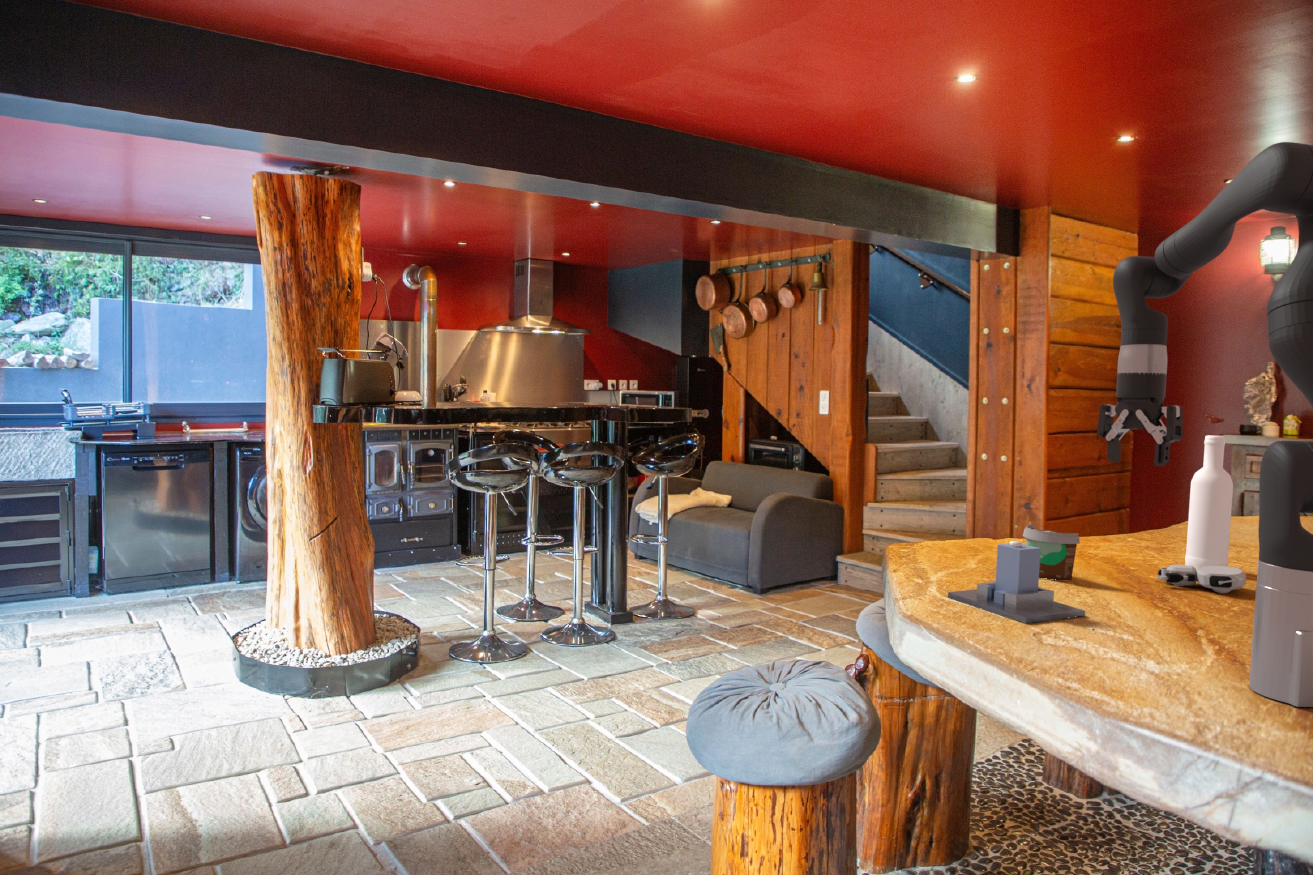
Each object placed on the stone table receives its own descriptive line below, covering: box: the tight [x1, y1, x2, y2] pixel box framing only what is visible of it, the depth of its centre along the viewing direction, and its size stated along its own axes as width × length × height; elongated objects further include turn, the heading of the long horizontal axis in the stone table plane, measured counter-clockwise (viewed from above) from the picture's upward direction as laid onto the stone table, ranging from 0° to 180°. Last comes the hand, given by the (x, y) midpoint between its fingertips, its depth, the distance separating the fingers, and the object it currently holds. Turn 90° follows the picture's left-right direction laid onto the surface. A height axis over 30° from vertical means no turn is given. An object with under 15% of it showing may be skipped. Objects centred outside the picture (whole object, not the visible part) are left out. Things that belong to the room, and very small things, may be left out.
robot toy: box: [1157, 564, 1247, 594], centre depth 172 cm, size 12×4×15 cm
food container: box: [1022, 524, 1081, 581], centre depth 178 cm, size 12×6×10 cm, turn 25°
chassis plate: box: [947, 581, 1086, 624], centre depth 152 cm, size 18×14×4 cm
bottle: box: [1184, 434, 1234, 570], centre depth 187 cm, size 8×8×30 cm
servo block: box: [994, 540, 1041, 605], centre depth 152 cm, size 5×7×11 cm
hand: (1136, 464), depth 149 cm, fingers open, 8 cm apart
